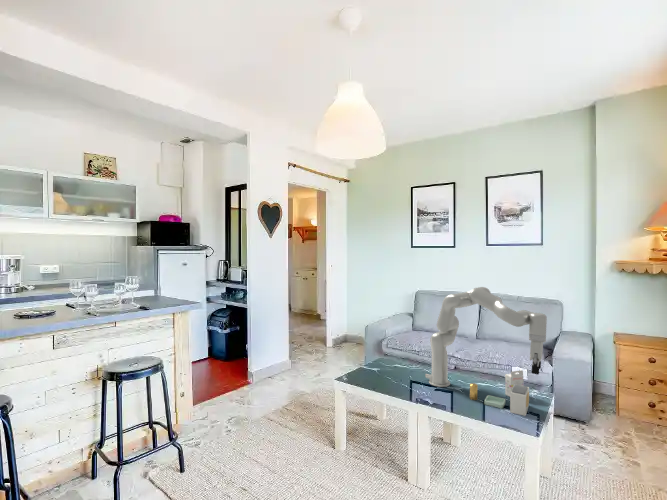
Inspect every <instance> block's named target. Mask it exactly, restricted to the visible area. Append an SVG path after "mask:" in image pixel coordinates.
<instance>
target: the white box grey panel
mask: <svg viewBox="0 0 667 500" xmlns="http://www.w3.org/2000/svg"><path fill="white" fill-rule="evenodd" d="M509 400H510V401H509V409H510V410H509V413H510V414H511V413H512V414H516V415H520V416H523V417H526V415H527V413H528V409H529V406H530V403H529V402H530V387H529V386H525V385H523V386H521V385H516V384H514V386H513V388H512V390H511V392H510V399H509Z"/></svg>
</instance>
